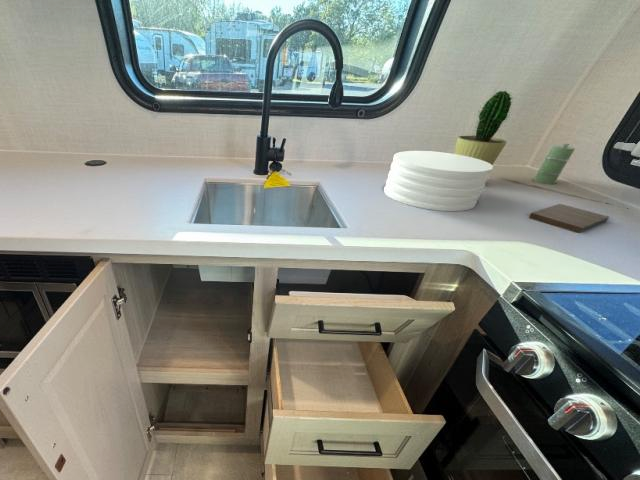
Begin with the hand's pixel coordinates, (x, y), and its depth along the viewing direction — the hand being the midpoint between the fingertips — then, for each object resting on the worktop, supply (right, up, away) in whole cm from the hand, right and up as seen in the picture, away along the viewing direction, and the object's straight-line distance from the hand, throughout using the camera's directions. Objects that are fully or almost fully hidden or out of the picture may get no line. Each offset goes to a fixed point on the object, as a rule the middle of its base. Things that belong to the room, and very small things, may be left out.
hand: (615, 143), depth 106 cm
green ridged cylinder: (-9, -8, +16) cm, 20 cm away
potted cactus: (-39, -6, +17) cm, 43 cm away
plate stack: (-64, -18, 0) cm, 66 cm away
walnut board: (-31, -30, -14) cm, 46 cm away
